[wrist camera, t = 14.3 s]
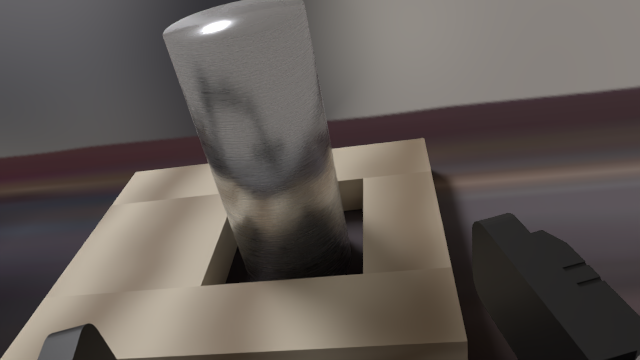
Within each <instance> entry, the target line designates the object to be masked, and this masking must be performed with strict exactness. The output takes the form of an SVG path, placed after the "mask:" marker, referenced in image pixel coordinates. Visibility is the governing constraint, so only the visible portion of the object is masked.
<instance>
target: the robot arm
mask: <svg viewBox="0 0 640 360" xmlns="http://www.w3.org/2000/svg"><path fill="white" fill-rule="evenodd" d="M472 265H473V280H474V284H475V288H476V291H477V293H478V296H479V298H480V300H481V302H482V303H483V305H484V307H485V308H486V310H487V311H488V313H489V314H490V316H491V318H492V319H493V321H494V322H495V324H496V325H497V327H498V328H499V330H500V332H501V333H502V335H503V336H504V338H505V339H506V341H507V342H508V344H509V346H510V347H511V349H512V350H513V352H514V353H515V355H516V356H517V358H518V360H640V316H639V315H638V314H637V313H636V312H635V311H634V310H633V309H632V308H631V307H630V306H629V305H628V304H627V303H626V302H625V301H624V300H623V299H622V298H621V297H620V296H619V295H618V294H617V293H616V292H615V291H614V290H613V289H612V288H611V287H610V286H609V285H608V284H607V283H606V282H605V281H602V280H601V278H600V276H599V275H598V274H597V273H596V272H595V271H594V270H593V269H592V268H591V267H590V266H589V265H586V263H585V261H584V260H583V259H582V258H581V257H580V256H579V255H578V254H577V253H576V252H575V251H574V250H573V249H572V248H571V247H570V246H569V245H568V244H567V243H566V242H564V241H562V240H560V239H558V238H556V237H554V236H553V235H551V234H549V233H547V232H545V231H543V230H541V231H537V232H533V233H530V232H529V231H528V230H527V229H526V228H525V226H524V225H523V224H522V223H521V222H520V221H519V220H518V219H517V218H516V217H515V216H514V215H513V214H511V213H506V214H503V215H499V216H495V217H491V218H488V219H484V220H480V221H476V222H474V224H473V227H472ZM37 360H117V359H116V357H115V355H114V354H113V352H112V351H111V349H110V348H109V346H108V345H107V343H106V342H105V340H104V338H103V337H102V335H101V334H100V332H99V331H98V329H97V328H96V327H95V326H94V325H93V324H90V323H88V324H84V325H80V326H77V327H73V328H69V329H65V330H62V331H58V332H54V333H51V334H49V335H48V336H47V338H46V339H45V341H44V343H43V346H42V349H41V351H40V354H39V357H38V359H37Z"/></svg>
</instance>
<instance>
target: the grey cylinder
mask: <svg viewBox="0 0 640 360" xmlns="http://www.w3.org/2000/svg"><path fill="white" fill-rule="evenodd" d="M163 38H164V40H165V43H166V46H167V49H168V52H169V54H170V57H171V60H172V63H173V66H174V68H175V71H176V74H177V77H178V80H179V83H180V85H181V88H182V91H183V93H184V97H185V99H186V102H187V105H188V108H189V110H190V113H191V116H192V119H193V121H194V125H195V127H196V130H197V133H198V136H199V139H200V141H201V144H202V147H203V150H204V153H205V155H206V158H207V161H208V164H209V167H210V169H211V172H212V175H213V178H214V181H215V183H216V186H217V189H218V192H219V195H220V197H221V200H222V203H223V206H224V209H225V211H226V214H227V217H228V220H229V223H230V225H231V228H232V231H233V234H234V237H235V239H236V242H237V245H238V248H239V251H240V253H241V256H242V259H243V262H244V265H245V267H246V270H247V273H248V276H249V279H250V281H251V282H261V281H275V280H288V279H301V278H315V277H328V276H341V275H344V274H345V273H346V272H347V270H348V268H349V265H350V262H351V248H350V242H349V237H348V232H347V227H346V221H345V216H344V211H343V206H342V200H341V195H340V190H339V184H338V179H337V174H336V169H335V163H334V158H333V153H332V148H331V142H330V137H329V132H328V127H327V121H326V116H325V111H324V105H323V100H322V95H321V90H320V84H319V79H318V74H317V69H316V63H315V58H314V53H313V48H312V42H311V37H310V32H309V26H308V21H307V16H306V11H305V5H304V2H303V0H243V1H238V2H233V3H229V4H224V5H221V6H217V7H214V8H210V9H207V10H204V11H201V12H198V13H195V14H193V15H191V16H188V17H186V18H184V19H181V20H179V21H177V22H176V23H174V24H172V25H171V26H169V27H168V28H167V29H166V30H165V31H164V32H163Z"/></svg>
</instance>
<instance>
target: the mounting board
mask: <svg viewBox="0 0 640 360" xmlns="http://www.w3.org/2000/svg"><path fill="white" fill-rule="evenodd" d="M332 153H333V158H334V163H335V169H336V174H337V179H338V184H339V190H340V195H341V200H342V206H343V211H347V210H358V209H363V274H354V275H341V276H328V277H315V278H301V279H288V280H275V281H261V282H248V283H235V284H225V283H226V280H227V277H228V274H229V271H230V268H231V265H232V261H233V258H234V255H235V252H236V249H237V246H238V245H237V242H236V239H235V237H234V234H233V231H232V228H231V225H230V223H229V220H228V217H227V214H226V211H225V209H224V206H223V203H222V200H221V197H220V195H219V192H218V189H217V186H216V183H215V181H214V178H213V175H212V172H211V169H210V167H209V164H201V165H193V166H184V167H176V168H167V169H159V170H151V171H142V172H136V173H135V174H134V175H133V177H132V178H131V180H130V181H129V182H128V184H127V185H126V186H125V188H124V189H123V191H122V192H121V193H120V195H119V196H118V198H117V199H116V200H115V202H114V203H113V204H112V206H111V207H110V209H109V210H108V211H107V213H106V214H105V216H104V217H103V218H102V220H101V221H100V222H99V224H98V225H97V227H96V228H95V229H94V231H93V232H92V233H91V235H90V236H89V238H88V239H87V240H86V242H85V243H84V245H83V246H82V247H81V249H80V250H79V251H78V253H77V254H76V256H75V257H74V258H73V260H72V261H71V263H70V264H69V265H68V267H67V268H66V269H65V271H64V272H63V274H62V275H61V276H60V278H59V279H58V280H57V282H56V283H55V285H54V286H53V287H52V289H51V290H50V292H49V293H48V294H47V296H46V297H45V298H44V300H43V301H42V303H41V304H40V305H39V307H38V308H37V310H36V311H35V312H34V314H33V315H32V316H31V318H30V319H29V321H28V322H27V323H26V325H25V326H24V328H23V329H22V330H21V332H20V333H19V334H18V336H17V337H16V339H15V340H14V341H13V343H12V344H11V345H10V347H9V348H8V350H7V351H6V352H5V354H4V355H3V357H2V358H1V359H0V360H37V359H38V357H39V354H40V351H41V349H42V346H43V343H44V341H45V339H46V338H47V336H48V335H49V334H51V333H54V332H58V331H62V330H65V329H69V328H73V327H77V326H80V325H84V324H88V323H90V324H93V325H94V326H95V327H96V328H97V329H98V331H99V332H100V334H101V335H102V337H103V338H104V340H105V342H106V343H107V345H108V346H109V348H110V349H111V351H112V352H113V354H114V355H115V357H116V359H117V360H468V344H467V337H466V332H465V328H464V323H463V318H462V313H461V309H460V304H459V299H458V295H457V290H456V285H455V281H454V276H453V271H452V267H451V262H450V257H449V253H448V248H447V243H446V239H445V234H444V229H443V225H442V220H441V215H440V211H439V206H438V201H437V197H436V192H435V187H434V183H433V178H432V173H431V168H430V164H429V159H428V154H427V150H426V145H425V140H424V138H421V139H413V140H404V141H396V142H387V143H379V144H370V145H362V146H353V147H345V148H336V149H332Z"/></svg>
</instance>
